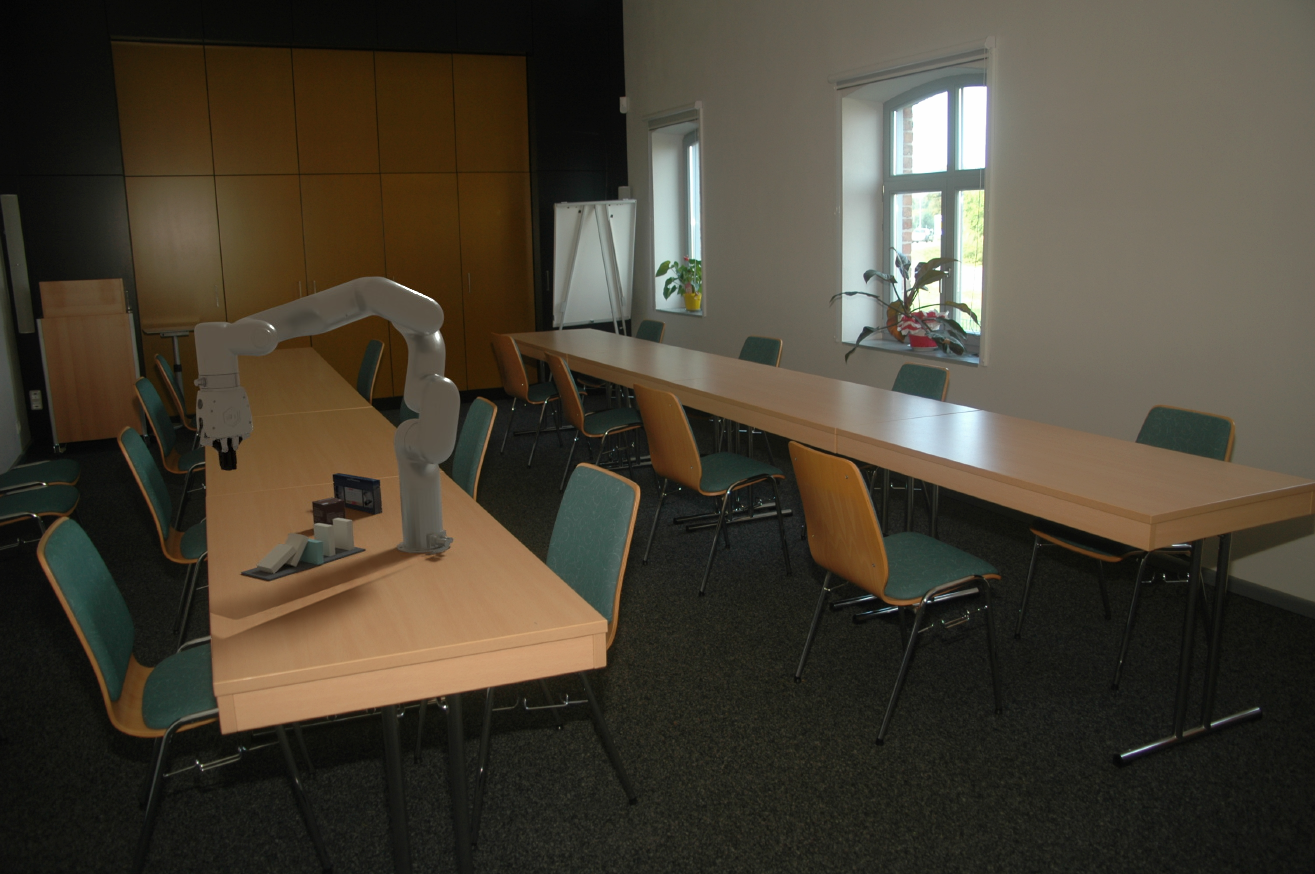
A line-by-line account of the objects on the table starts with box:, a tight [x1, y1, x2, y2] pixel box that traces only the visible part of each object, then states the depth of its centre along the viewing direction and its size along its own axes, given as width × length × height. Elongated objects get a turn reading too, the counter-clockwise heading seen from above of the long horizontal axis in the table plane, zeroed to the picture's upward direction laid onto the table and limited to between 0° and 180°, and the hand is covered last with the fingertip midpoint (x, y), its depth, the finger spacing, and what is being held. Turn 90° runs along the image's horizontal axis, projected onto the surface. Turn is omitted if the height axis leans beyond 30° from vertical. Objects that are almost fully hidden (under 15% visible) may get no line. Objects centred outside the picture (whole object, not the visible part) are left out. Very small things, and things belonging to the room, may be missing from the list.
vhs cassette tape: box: [332, 472, 383, 516], centre depth 259 cm, size 18×3×10 cm, turn 53°
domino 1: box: [256, 543, 297, 574], centre depth 206 cm, size 2×5×7 cm
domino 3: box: [312, 523, 335, 556], centre depth 216 cm, size 2×5×7 cm, turn 58°
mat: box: [240, 546, 366, 582], centre depth 212 cm, size 10×26×1 cm, turn 148°
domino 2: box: [284, 532, 310, 567], centre depth 209 cm, size 2×5×7 cm
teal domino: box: [299, 538, 324, 565], centre depth 211 cm, size 2×5×7 cm
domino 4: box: [333, 518, 355, 550], centre depth 221 cm, size 2×5×7 cm, turn 58°
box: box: [311, 496, 347, 525], centre depth 241 cm, size 6×6×7 cm
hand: (228, 469), depth 194 cm, fingers closed
